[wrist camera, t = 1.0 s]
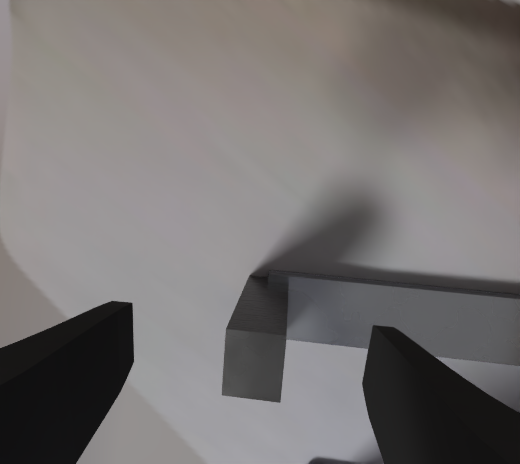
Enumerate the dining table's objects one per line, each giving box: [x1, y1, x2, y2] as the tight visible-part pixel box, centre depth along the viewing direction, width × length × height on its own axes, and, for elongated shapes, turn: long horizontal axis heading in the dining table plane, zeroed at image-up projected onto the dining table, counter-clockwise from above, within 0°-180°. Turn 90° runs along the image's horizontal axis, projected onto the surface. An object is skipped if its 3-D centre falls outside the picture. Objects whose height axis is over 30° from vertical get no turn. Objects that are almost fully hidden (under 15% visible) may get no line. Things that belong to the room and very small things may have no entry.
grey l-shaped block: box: [222, 270, 520, 403], centre depth 18 cm, size 4×18×8 cm, turn 86°
